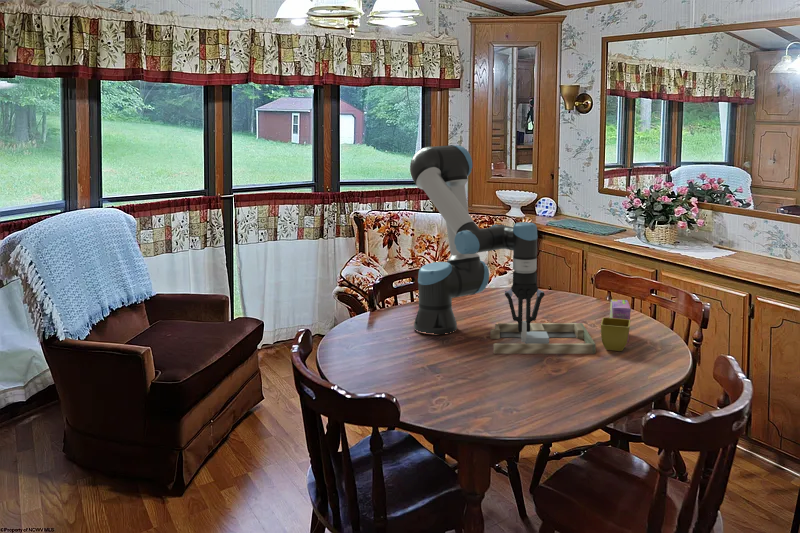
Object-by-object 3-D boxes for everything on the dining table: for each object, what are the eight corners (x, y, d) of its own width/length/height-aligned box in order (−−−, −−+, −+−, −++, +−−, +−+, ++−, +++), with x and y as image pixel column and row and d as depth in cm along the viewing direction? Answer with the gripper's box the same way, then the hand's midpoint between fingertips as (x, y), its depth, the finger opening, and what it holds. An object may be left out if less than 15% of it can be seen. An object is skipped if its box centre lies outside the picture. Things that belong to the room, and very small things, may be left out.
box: (629, 342, 244) (630, 308, 242) (611, 341, 246) (612, 307, 243) (626, 333, 254) (627, 299, 252) (608, 332, 255) (610, 299, 253)
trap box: (493, 353, 236) (493, 344, 236) (489, 331, 259) (489, 323, 258) (595, 353, 235) (595, 344, 234) (582, 331, 257) (582, 323, 256)
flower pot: (629, 345, 241) (630, 319, 239) (628, 354, 233) (629, 326, 231) (601, 343, 244) (602, 317, 242) (599, 351, 236) (600, 324, 234)
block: (526, 349, 240) (527, 338, 239) (524, 342, 247) (525, 331, 246) (548, 349, 239) (549, 338, 238) (546, 343, 246) (546, 331, 245)
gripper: (505, 273, 235) (504, 344, 240) (546, 273, 234) (545, 344, 239) (503, 268, 242) (503, 337, 247) (543, 268, 241) (542, 337, 246)
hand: (523, 340), depth 243 cm, fingers closed
